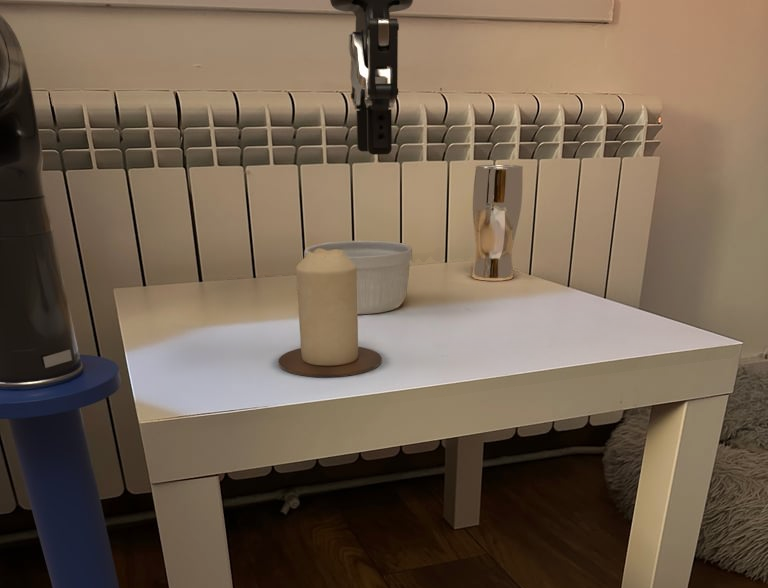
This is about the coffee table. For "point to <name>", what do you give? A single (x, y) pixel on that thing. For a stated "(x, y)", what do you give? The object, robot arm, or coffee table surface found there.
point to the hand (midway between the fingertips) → (373, 152)
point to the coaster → (362, 364)
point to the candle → (327, 308)
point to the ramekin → (376, 272)
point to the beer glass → (496, 219)
